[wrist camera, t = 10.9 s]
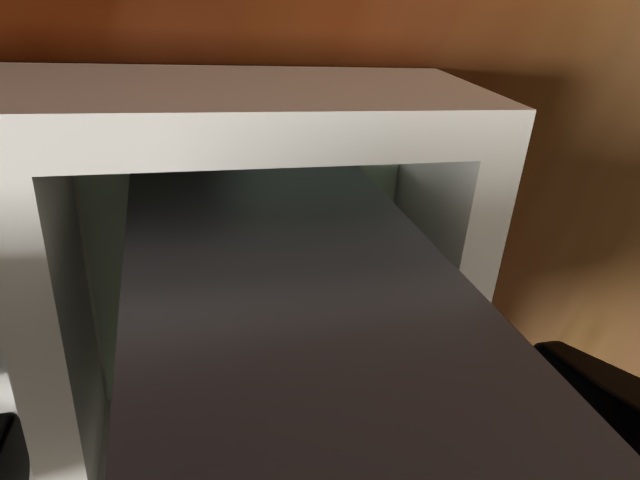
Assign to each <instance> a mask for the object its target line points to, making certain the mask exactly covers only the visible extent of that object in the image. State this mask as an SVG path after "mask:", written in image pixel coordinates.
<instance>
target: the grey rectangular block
mask: <svg viewBox="0 0 640 480" xmlns="http://www.w3.org/2000/svg"><path fill="white" fill-rule="evenodd" d="M105 480H640V456H639V455H638V454H637V453H636V452H635V451H634V449H633V448H632V447H631V446H630V445H629V444H628V443H627V442H626V441H625V440H624V439H623V438H622V437H621V436H620V435H619V434H618V433H617V432H616V431H615V430H614V429H613V428H612V427H611V426H610V425H609V424H608V423H607V422H606V421H605V420H604V419H603V418H602V417H601V416H600V414H599V413H598V412H597V411H596V410H595V409H594V408H593V407H592V406H591V405H590V404H589V403H588V402H587V401H586V400H585V399H584V398H583V397H582V396H581V395H580V394H579V393H578V392H577V391H576V390H575V389H574V388H573V387H572V386H571V385H570V384H569V383H568V382H567V381H566V380H565V378H564V377H563V376H562V375H561V374H560V373H559V372H558V371H557V370H556V369H555V368H554V367H553V366H552V365H551V364H550V363H549V362H548V361H547V360H546V359H545V358H544V357H543V356H542V355H541V354H540V353H539V352H538V351H537V350H536V349H535V348H534V347H533V346H532V345H531V343H530V342H529V341H528V340H527V339H526V338H525V337H524V336H523V335H522V334H521V333H520V332H519V331H518V330H517V329H516V328H515V327H514V326H513V325H512V324H511V323H510V322H509V321H508V320H507V319H506V318H505V317H504V316H503V315H502V314H501V313H500V312H499V311H498V310H497V309H496V307H495V306H494V305H493V304H492V303H491V302H490V301H489V300H488V299H487V298H486V297H485V296H484V295H483V294H482V293H481V292H480V291H479V290H478V289H477V288H476V287H475V286H474V285H473V284H472V283H471V282H470V281H469V280H468V279H467V278H466V277H465V276H464V275H463V274H462V272H461V271H460V270H459V269H458V268H457V267H456V266H455V265H454V264H453V263H452V262H451V261H450V260H449V259H448V258H447V257H446V256H445V255H444V254H443V253H442V252H441V251H440V250H439V249H438V248H437V247H436V246H435V245H434V244H433V243H432V242H431V241H430V240H429V239H428V237H427V236H426V235H425V234H424V233H423V232H422V231H421V230H420V229H419V228H418V227H417V226H416V225H415V224H414V223H413V222H412V221H411V220H410V219H409V218H408V217H407V216H406V215H405V214H404V213H403V212H402V211H401V210H400V209H399V208H398V207H397V206H396V205H395V204H394V203H393V201H392V200H391V199H390V198H389V197H388V196H387V195H386V194H385V193H384V192H383V191H382V190H381V189H380V188H379V187H378V186H377V185H376V184H375V183H374V182H373V181H372V180H371V179H370V178H369V177H368V176H367V175H366V174H365V173H364V172H363V171H362V170H361V169H360V168H359V166H332V167H302V168H272V169H243V170H215V171H187V172H158V173H130V178H129V190H128V202H127V215H126V227H125V240H124V252H123V264H122V277H121V289H120V302H119V314H118V326H117V339H116V351H115V364H114V376H113V388H112V401H111V413H110V425H109V438H108V450H107V463H106V475H105Z"/></svg>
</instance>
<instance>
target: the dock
mask: <svg viewBox="0 0 640 480" xmlns="http://www.w3.org/2000/svg"><path fill="white" fill-rule="evenodd" d="M536 111H537V110H536V109H533V108H531V107H529V106H526V105H524V104H521V103H519V102H516V101H514V100H512V99H509V98H507V97H504V96H502V95H499V94H497V93H495V92H492V91H490V90H487V89H485V88H482V87H480V86H478V85H475V84H473V83H470V82H468V81H465V80H463V79H461V78H458V77H456V76H453V75H451V74H448V73H446V72H444V71H441V70H439V69H436V68H375V67H304V66H232V65H161V64H89V63H18V62H0V413H7V412H14V413H16V414H17V415H18V416H19V418H20V421H21V425H22V429H23V433H24V437H25V441H26V445H27V449H28V453H29V459H30V475H29V480H105V475H106V463H107V450H108V438H109V425H110V413H111V401H112V388H113V376H114V364H115V351H116V339H117V326H118V314H119V302H120V289H121V277H122V264H123V252H124V240H125V227H126V215H127V202H128V190H129V178H130V173H158V172H187V171H215V170H243V169H272V168H302V167H332V166H359V168H360V169H361V170H362V171H363V172H364V173H365V174H366V175H367V176H368V177H369V178H370V179H371V180H372V181H373V182H374V183H375V184H376V185H377V186H378V187H379V188H380V189H381V190H382V191H383V192H384V193H385V194H386V195H387V196H388V197H389V198H390V199H391V200H392V201H393V203H394V204H395V205H396V206H397V207H398V208H399V209H400V210H401V211H402V212H403V213H404V214H405V215H406V216H407V217H408V218H409V219H410V220H411V221H412V222H413V223H414V224H415V225H416V226H417V227H418V228H419V229H420V230H421V231H422V232H423V233H424V234H425V235H426V236H427V237H428V239H429V240H430V241H431V242H432V243H433V244H434V245H435V246H436V247H437V248H438V249H439V250H440V251H441V252H442V253H443V254H444V255H445V256H446V257H447V258H448V259H449V260H450V261H451V262H452V263H453V264H454V265H455V266H456V267H457V268H458V269H459V270H460V271H461V272H462V274H463V275H464V276H465V277H466V278H467V279H468V280H469V281H470V282H471V283H472V284H473V285H474V286H475V287H476V288H477V289H478V290H479V291H480V292H481V293H482V294H483V295H484V296H485V297H486V298H487V299H488V300H489V301H490V302H492V298H493V294H494V290H495V285H496V281H497V277H498V273H499V268H500V264H501V260H502V256H503V251H504V247H505V243H506V238H507V234H508V230H509V226H510V221H511V217H512V213H513V209H514V204H515V200H516V196H517V192H518V187H519V183H520V179H521V174H522V170H523V166H524V162H525V157H526V153H527V149H528V145H529V140H530V136H531V132H532V128H533V123H534V119H535V115H536Z"/></svg>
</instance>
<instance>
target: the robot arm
mask: <svg viewBox="0 0 640 480" xmlns="http://www.w3.org/2000/svg"><path fill="white" fill-rule="evenodd" d="M533 347H534V348H535V349H536V350H537V351H538V352H539V353H540V354H541V355H542V356H543V357H544V358H545V359H546V360H547V361H548V362H549V363H550V364H551V365H552V366H553V367H554V368H555V369H556V370H557V371H558V372H559V373H560V374H561V375H562V376H563V377H564V378H565V380H566V381H567V382H568V383H569V384H570V385H571V386H572V387H573V388H574V389H575V390H576V391H577V392H578V393H579V394H580V395H581V396H582V397H583V398H584V399H585V400H586V401H587V402H588V403H589V404H590V405H591V406H592V407H593V408H594V409H595V410H596V411H597V412H598V413H599V414H600V416H601V417H602V418H603V419H604V420H605V421H606V422H607V423H608V424H609V425H610V426H611V427H612V428H613V429H614V430H615V431H616V432H617V433H618V434H619V435H620V436H621V437H622V438H623V439H624V440H625V441H626V442H627V443H628V444H629V445H630V446H631V447H632V448H633V449H634V451H635V452H636V453H637V454H638V455H639V456H640V378H639V377H637V376H635V375H632V374H630V373H628V372H626V371H624V370H622V369H619V368H617V367H615V366H613V365H611V364H609V363H606V362H604V361H602V360H600V359H598V358H595V357H593V356H591V355H589V354H587V353H585V352H582V351H580V350H578V349H576V348H574V347H571V346H569V345H567V344H565V343H563V342H560V341H548V342H541V343H537V344H535V345H534V346H533ZM29 475H30V459H29V453H28V449H27V445H26V441H25V437H24V433H23V429H22V425H21V421H20V418H19V416H18V415H17V414H16V413H14V412H7V413H0V480H29Z"/></svg>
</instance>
